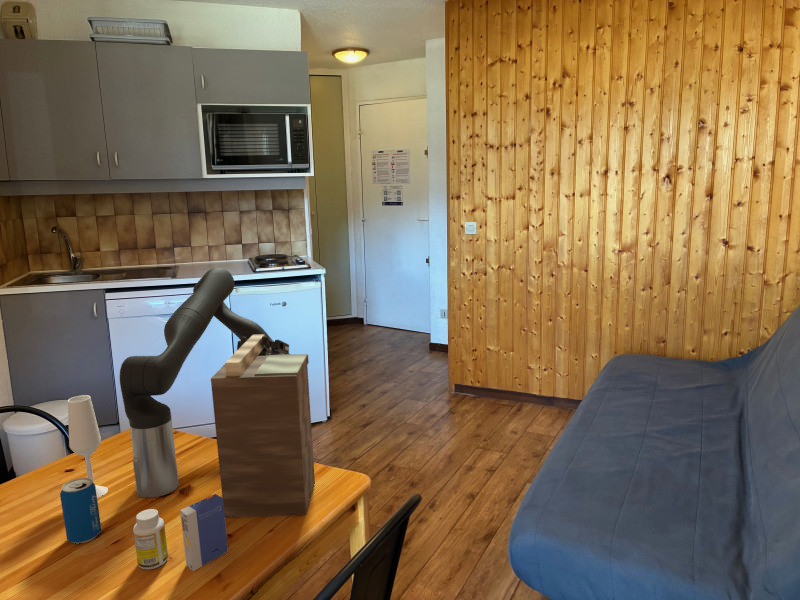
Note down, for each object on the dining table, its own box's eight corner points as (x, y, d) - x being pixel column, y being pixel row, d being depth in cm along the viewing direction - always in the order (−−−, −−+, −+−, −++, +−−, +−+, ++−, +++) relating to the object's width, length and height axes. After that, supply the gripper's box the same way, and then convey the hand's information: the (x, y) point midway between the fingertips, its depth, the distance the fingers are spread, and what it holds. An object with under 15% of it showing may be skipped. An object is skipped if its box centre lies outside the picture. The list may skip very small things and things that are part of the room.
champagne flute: (75, 503, 139) (61, 405, 134) (78, 490, 145) (64, 396, 140) (107, 496, 141) (94, 400, 137) (108, 483, 147) (95, 392, 143)
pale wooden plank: (253, 346, 149) (252, 334, 148) (265, 345, 149) (264, 334, 148) (226, 376, 125) (225, 362, 125) (240, 376, 125) (239, 362, 125)
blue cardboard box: (220, 546, 120) (215, 492, 118) (228, 551, 118) (223, 496, 116) (184, 565, 114) (178, 508, 112) (192, 571, 112) (186, 513, 110)
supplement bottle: (159, 549, 119) (153, 503, 117) (174, 560, 116) (168, 512, 114) (132, 563, 115) (126, 515, 113) (146, 575, 112) (140, 525, 110)
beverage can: (87, 547, 121) (79, 493, 119) (60, 544, 122) (51, 491, 120) (108, 529, 127) (101, 477, 125) (82, 527, 129) (74, 475, 126)
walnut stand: (243, 481, 146) (231, 355, 140) (316, 479, 146) (307, 352, 140) (224, 517, 130) (210, 376, 124) (306, 515, 130) (296, 373, 124)
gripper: (243, 344, 160) (225, 326, 144) (296, 342, 160) (283, 324, 144) (242, 371, 158) (222, 356, 142) (295, 369, 158) (282, 354, 142)
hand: (253, 340), depth 143 cm, fingers open, 4 cm apart
